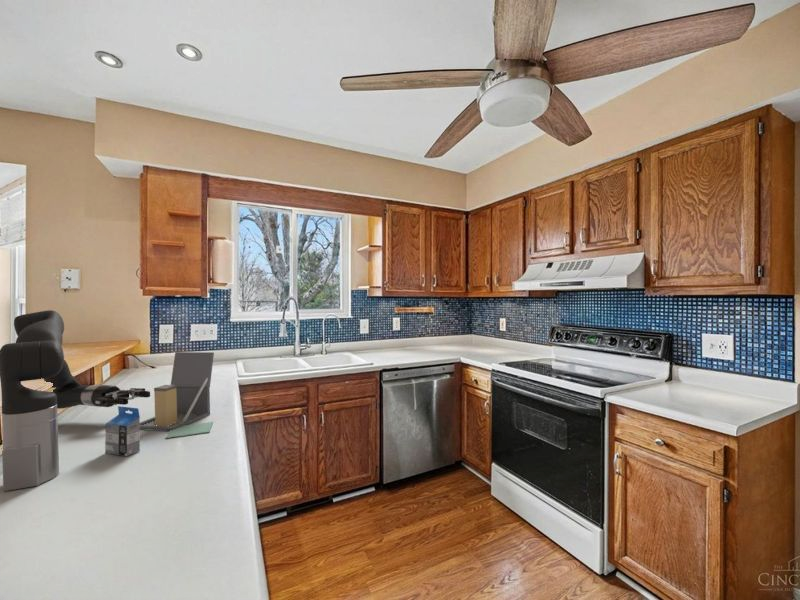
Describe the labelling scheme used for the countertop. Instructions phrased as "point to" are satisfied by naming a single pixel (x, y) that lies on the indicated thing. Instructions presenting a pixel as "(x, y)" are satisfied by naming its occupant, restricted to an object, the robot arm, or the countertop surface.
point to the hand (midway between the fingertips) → (138, 397)
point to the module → (165, 405)
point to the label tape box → (123, 432)
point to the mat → (191, 430)
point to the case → (189, 387)
